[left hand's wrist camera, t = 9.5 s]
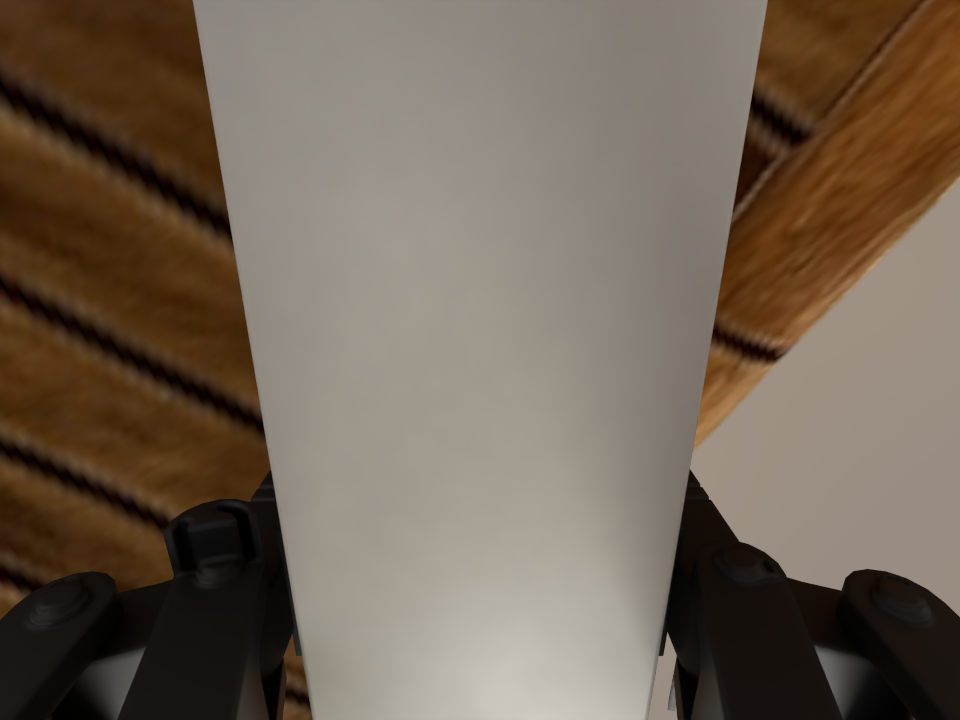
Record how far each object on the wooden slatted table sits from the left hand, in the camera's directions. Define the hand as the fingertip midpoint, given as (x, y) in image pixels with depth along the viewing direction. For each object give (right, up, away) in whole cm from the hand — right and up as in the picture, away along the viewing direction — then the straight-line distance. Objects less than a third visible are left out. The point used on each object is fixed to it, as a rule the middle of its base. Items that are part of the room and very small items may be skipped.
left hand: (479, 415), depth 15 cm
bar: (0, +8, -2) cm, 8 cm away
